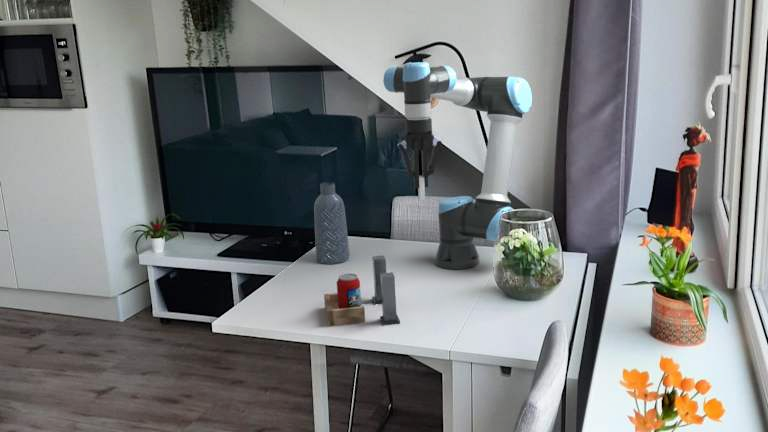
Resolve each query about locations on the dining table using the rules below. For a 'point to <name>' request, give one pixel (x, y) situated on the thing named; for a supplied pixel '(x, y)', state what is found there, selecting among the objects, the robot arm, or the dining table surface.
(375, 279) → the post far
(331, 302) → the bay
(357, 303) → the beverage can
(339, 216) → the vase
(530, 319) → the dining table surface
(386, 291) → the post near
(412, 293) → the dining table surface
